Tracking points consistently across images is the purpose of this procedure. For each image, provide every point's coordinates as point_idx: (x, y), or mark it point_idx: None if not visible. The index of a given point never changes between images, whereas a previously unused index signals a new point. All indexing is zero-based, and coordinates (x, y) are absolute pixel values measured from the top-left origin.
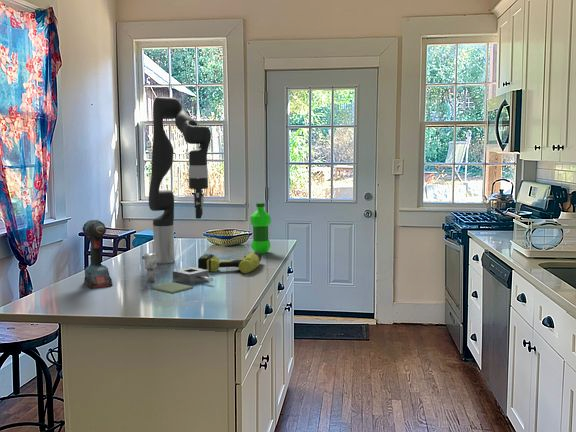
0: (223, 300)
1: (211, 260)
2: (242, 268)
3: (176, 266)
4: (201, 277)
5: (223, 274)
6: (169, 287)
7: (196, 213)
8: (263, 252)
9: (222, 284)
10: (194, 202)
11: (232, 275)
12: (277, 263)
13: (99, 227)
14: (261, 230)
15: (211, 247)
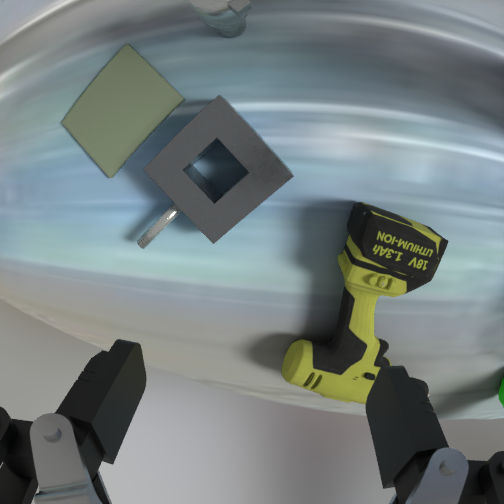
0: (17, 255)
1: (351, 268)
2: (291, 350)
3: (473, 134)
4: (167, 209)
5: (300, 285)
6: (108, 102)
7: (96, 381)
8: (501, 383)
9: (151, 268)
10: (38, 498)
11: (276, 310)
12: None
13: None
14: None
15: None
